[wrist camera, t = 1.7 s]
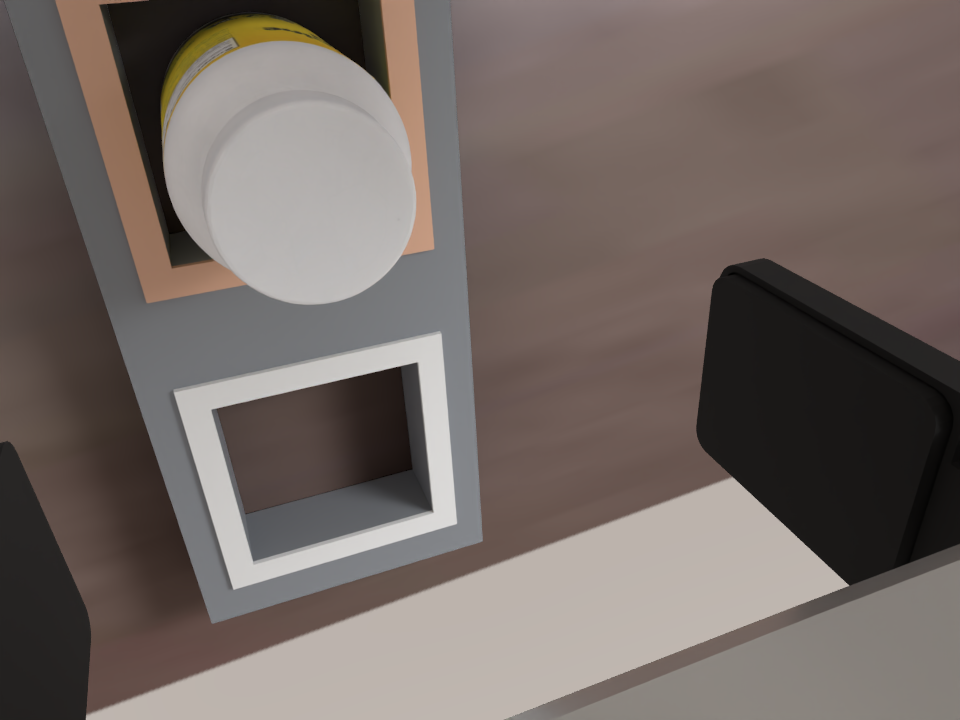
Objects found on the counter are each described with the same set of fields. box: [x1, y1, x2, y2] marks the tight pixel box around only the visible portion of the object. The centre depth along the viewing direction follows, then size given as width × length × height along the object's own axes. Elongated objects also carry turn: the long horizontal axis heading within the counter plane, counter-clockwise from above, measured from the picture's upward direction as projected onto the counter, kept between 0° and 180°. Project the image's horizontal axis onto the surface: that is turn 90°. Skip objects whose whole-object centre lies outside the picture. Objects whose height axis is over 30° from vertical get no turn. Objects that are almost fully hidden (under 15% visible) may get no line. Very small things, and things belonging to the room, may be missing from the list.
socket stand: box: [4, 0, 483, 624], centre depth 28 cm, size 12×26×3 cm, turn 4°
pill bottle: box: [160, 12, 416, 305], centre depth 21 cm, size 6×6×11 cm
